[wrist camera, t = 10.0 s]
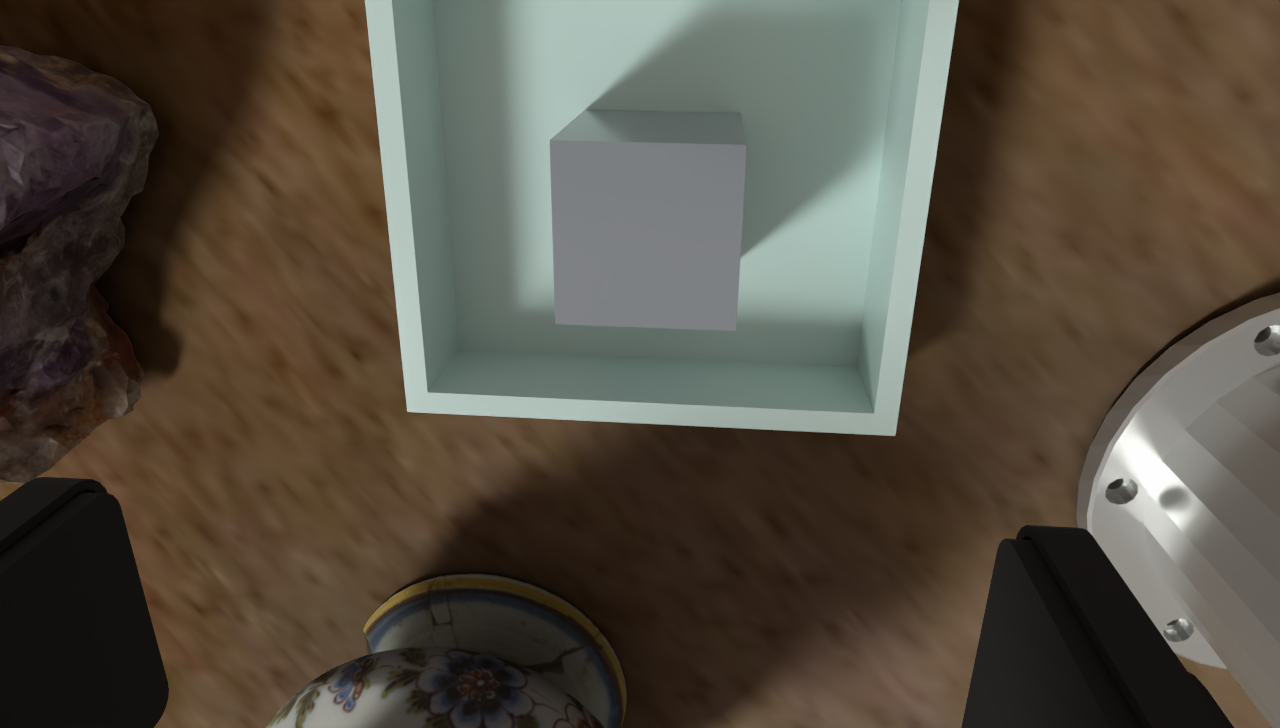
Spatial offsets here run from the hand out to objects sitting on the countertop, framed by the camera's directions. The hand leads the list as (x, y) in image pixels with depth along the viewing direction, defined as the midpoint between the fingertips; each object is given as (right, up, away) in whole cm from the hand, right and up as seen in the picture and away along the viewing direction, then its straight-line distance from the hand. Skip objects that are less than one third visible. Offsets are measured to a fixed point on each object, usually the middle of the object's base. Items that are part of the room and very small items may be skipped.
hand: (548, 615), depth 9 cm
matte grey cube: (+2, +7, +14) cm, 16 cm away
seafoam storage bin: (+2, +8, +14) cm, 16 cm away
